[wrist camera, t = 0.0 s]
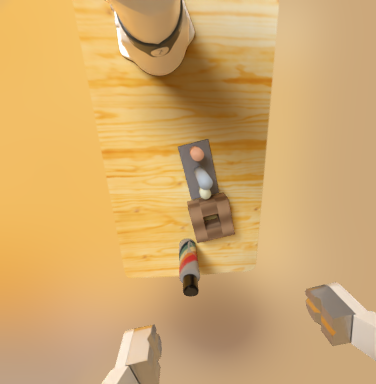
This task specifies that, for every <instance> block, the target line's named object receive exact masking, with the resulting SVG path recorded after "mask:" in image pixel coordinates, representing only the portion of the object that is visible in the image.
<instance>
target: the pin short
mask: <svg viewBox="0 0 376 384" xmlns="http://www.w3.org/2000/svg"><path fill="white" fill-rule="evenodd" d="M199 193H200V196H201V198H202V199H209V198H210V197H211V191H210V189H209V190H203V189H201V188H200V186H199Z"/></svg>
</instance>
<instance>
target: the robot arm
mask: <svg viewBox="0 0 376 384" xmlns="http://www.w3.org/2000/svg"><path fill="white" fill-rule="evenodd" d="M105 1H107V2H108V3H109V4H110V6H111V9H112V11H113V12H114V13H115V25H116V28H117V35H118V42H119V49H120V52H121V54H122V56H124V57H125V58H127V59H129V60H132V61H134V62H135V63H136V64H137V65H138V66H139V67H140V68H141V69H142V70H144V71H145V72H147V73H149V74H152V75H157V76H160V75H166V74H169V73H171V72H173V71H174V70H175V69H176V68H177V67H178V66H179V65H180V64H181V62H182V60H183V58H184V55H185V52H186V49H187V46H188V45H189V44H190V42H191V41H192V40H193V38H194V35H195V30H194V27H193V24H192V22H191V19H190V16H189V13H188V11H187V8H186V5H185V2H184V0H105ZM305 292H306V296H307V297H308V299H307V300H306V306H307V309H308V311H309V313H310V315H311V317H312V318H313V320H314V321H315V322H317V323H318V324H320V325H321V331H322V332H323V333H324V335H325V336H326V338H327V339H328V341H329V342H330V343H331V345H332V346H335V345H340V344H346V343H351V344H352V345H354V346H355V347H357V348H358V349H360V350H361V351H362V352H364V353H365V354H367V355H368V356H370V357H371V358H372V359H374V360H375V361H376V313H375V312H373V311H369V312H368V311H367V310H366V309H365V308H364V307H363V306H362V305H361V304H360V303H359V302H358V301H357V300H355V299H354V298H353V297H352V296H351V295H350V294H349V293H348V292H347V291H346V290H345V289H344V288H343V287H342V286H341V285H340V284H338V283H336V282H335V283H330V284H326V285H321V286H317V287H313V288H309V289H306V291H305ZM161 350H162V347H161V340H160V336H159V334H157V333H156V327H155V325H150V326H144V327H139V328H135V329H130V330H126V331H125V333H124V335H123V339H122V343H121V347H120V350H119V354H118V358H117V362H116V365H115V368H114V369H112V370H111V371H110V372H109V374H108V375H107V377H106V378H105V379H104V381H103V382H102V384H159V378H160V377H159V376H160V365H159V363H158V360H159V359H160V357H161Z"/></svg>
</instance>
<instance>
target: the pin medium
mask: <svg viewBox="0 0 376 384" xmlns="http://www.w3.org/2000/svg"><path fill="white" fill-rule="evenodd" d="M190 155H191V157H192V159H193V160H195V161H201V160H202V159H203V157H204V152H203V151H202V150H201V149H200V148H199V147H197V146H193V147H191V148H190Z"/></svg>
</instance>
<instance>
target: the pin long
mask: <svg viewBox="0 0 376 384" xmlns="http://www.w3.org/2000/svg"><path fill="white" fill-rule="evenodd" d="M194 173H195V175H196V178H197V181H198V183H199V186H200V188H201V189H203V190H209V189H210V188H211V187H212V185H213V181H212V179H211V178H210V176H209V175H208V173H207V172H206V170H205V169H204V168H203V167H202V166H197V167H196V168H195V169H194Z"/></svg>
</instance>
